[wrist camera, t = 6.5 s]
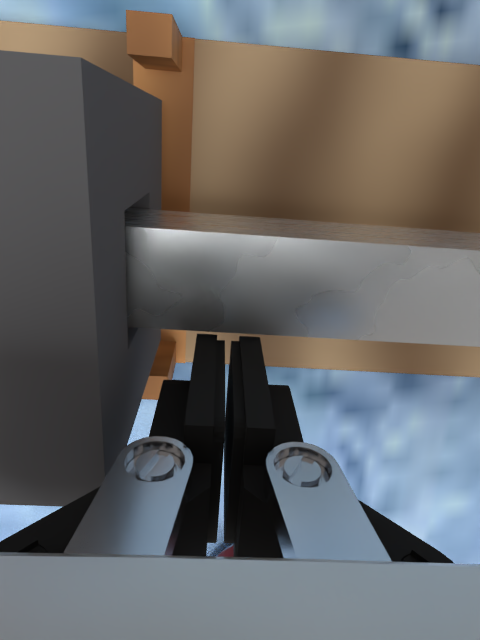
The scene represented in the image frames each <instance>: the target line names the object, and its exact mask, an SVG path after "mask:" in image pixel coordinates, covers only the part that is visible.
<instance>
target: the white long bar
mask: <svg viewBox="0 0 480 640" xmlns="http://www.w3.org/2000/svg"><path fill="white" fill-rule="evenodd" d="M124 218H125V254H126V291H127V327H134V328H152V329H170V330H187V331H205V332H223V333H241V334H259V335H277V336H294V337H312V338H330V339H348V340H366V341H384V342H402V343H419V344H437V345H455V346H473V347H480V233H475V232H461V231H447V230H432V229H418V228H404V227H390V226H376V225H362V224H348V223H334V222H320V221H306V220H292V219H278V218H264V217H250V216H236V215H221V214H207V213H193V212H179V211H165V210H151V209H137V208H127V209H126V210H125V211H124Z"/></svg>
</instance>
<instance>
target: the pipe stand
mask: <svg viewBox="0 0 480 640" xmlns="http://www.w3.org/2000/svg"><path fill="white" fill-rule="evenodd" d="M126 28H127V32H117V31H107V30H96V29H85V28H74V27H64V26H53V25H42V24H32V23H21V22H10V21H0V50H4V51H15V52H26V53H38V54H49V55H60V56H71V57H81V58H83V59H85V60H87V61H89V62H90V63H92V64H94V65H96V66H98V67H100V68H102V69H104V70H106V71H107V72H109V73H111V74H113V75H115V76H117V77H119V78H121V79H123V80H124V81H126V82H128V83H130V84H132V85H134V86H136V87H138V88H140V89H141V90H143V91H145V92H147V93H149V94H151V95H153V96H155V97H157V98H158V99H160V100H162V183H161V210H165V211H179V212H193V213H207V214H221V215H236V216H250V217H264V218H278V219H292V220H306V221H320V222H334V223H348V224H362V225H376V226H390V227H404V228H418V229H432V230H447V231H461V232H475V233H480V65H472V64H461V63H450V62H439V61H429V60H418V59H407V58H397V57H386V56H375V55H364V54H354V53H343V52H332V51H321V50H311V49H300V48H289V47H278V46H268V45H257V44H246V43H236V42H225V41H214V40H203V39H195V38H188V37H182V35H181V33H180V31H179V28H178V26H177V24H176V22H175V20H174V17H173V15H172V14H163V13H152V12H142V11H132V10H126ZM197 334H215V335H217V340H225V364H229V362H230V349H231V341H239V336H251V337H260V340H261V346H262V352H263V357H264V363H265V366H273V367H292V368H311V369H330V370H350V371H369V372H388V373H407V374H426V375H446V376H465V377H480V347H473V346H455V345H437V344H419V343H402V342H384V341H366V340H348V339H330V338H312V337H294V336H277V335H259V334H241V333H223V332H205V331H187V330H170V329H161V340H160V343H159V346H158V349H157V352H156V356H155V359H154V362H153V365H152V368H151V371H150V374H149V377H148V381H147V384H146V387H145V390H144V393H143V396H142V399H153V400H158V398H159V394H160V390H161V386H162V383H163V380H172V377H173V373H174V368H175V364H176V363H185V362H193V358H194V351H195V344H196V337H197Z"/></svg>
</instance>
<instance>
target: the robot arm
mask: <svg viewBox="0 0 480 640" xmlns="http://www.w3.org/2000/svg"><path fill="white" fill-rule="evenodd" d="M223 449H224V543H233V552H234V557H212V556H206V549H207V543H216V541H217V528H218V515H219V502H220V489H221V476H222V462H223ZM0 640H480V564H455V563H453V561H451V560H450V559H449V558H447V557H446V556H445V555H444V554H442V553H441V552H440V551H438V550H436V549H435V548H433V547H432V546H430V545H429V544H427V543H425V542H424V541H422V540H421V539H419V538H418V537H416V536H414V535H413V534H411V533H410V532H408V531H407V530H405V529H403V528H402V527H400V526H399V525H397V524H396V523H394V522H392V521H391V520H389V519H388V518H386V517H385V516H383V515H381V514H380V513H378V512H377V511H375V510H374V509H372V508H370V507H369V506H367V505H366V504H364V503H363V502H361V501H359V500H358V499H357V497H356V496H355V494H354V492H353V490H352V488H351V486H350V485H349V483H348V481H347V479H346V477H345V476H344V474H343V472H342V470H341V468H340V467H339V465H338V463H337V462H336V460H335V459H334V458H333V457H332V456H331V455H330V454H329V453H327V452H326V451H325V450H323V449H321V448H319V447H317V446H315V445H312V444H308V443H304V442H303V438H302V434H301V431H300V427H299V423H298V419H297V415H296V411H295V407H294V403H293V399H292V395H291V391H290V388H289V386H286V385H268V380H267V375H266V369H265V363H264V357H263V352H262V346H261V340H260V337H251V336H239V341H231V349H230V362H229V375H228V389H227V402H226V415H225V340H217V335H215V334H197V337H196V344H195V351H194V358H193V365H192V372H191V380H190V381H184V380H163V383H162V386H161V390H160V394H159V398H158V402H157V406H156V410H155V414H154V418H153V422H152V426H151V430H150V434H149V437H146V438H142V439H139V440H137V441H134V442H132V443H131V444H129V445H128V446H126V447H125V448H124V449H123V450H122V451H121V452H120V454H119V455H118V456H117V458H116V460H115V462H114V464H113V465H112V467H111V469H110V471H109V472H108V474H107V476H106V478H105V480H104V481H103V483H102V485H101V486H100V487H98V488H96V489H95V490H93V491H91V492H89V493H87V494H86V495H84V496H82V497H80V498H78V499H76V500H75V501H73V502H71V503H69V504H67V505H66V506H64V507H62V508H60V509H58V510H57V511H55V512H53V513H51V514H49V515H48V516H46V517H44V518H42V519H40V520H39V521H37V522H35V523H33V524H31V525H29V526H28V527H26V528H24V529H22V530H20V531H19V532H17V533H15V534H13V535H11V536H10V537H8V538H6V539H4V540H2V541H1V542H0Z"/></svg>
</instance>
